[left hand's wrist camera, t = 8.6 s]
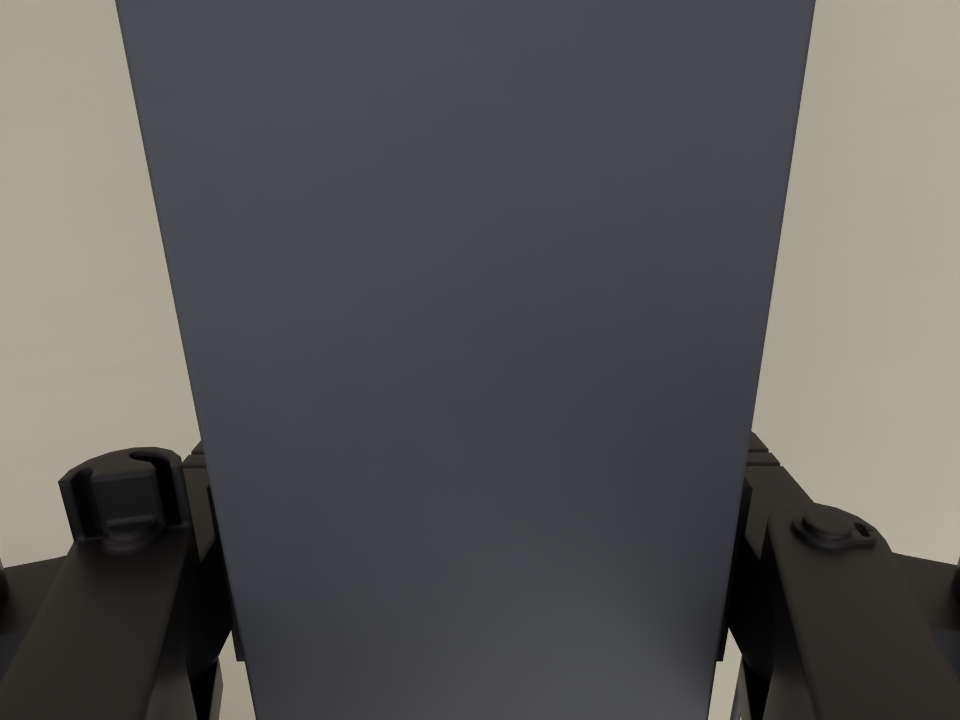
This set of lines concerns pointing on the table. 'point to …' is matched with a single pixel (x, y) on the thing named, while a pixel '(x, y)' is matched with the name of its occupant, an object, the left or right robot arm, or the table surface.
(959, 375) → the table surface
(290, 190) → the beam
